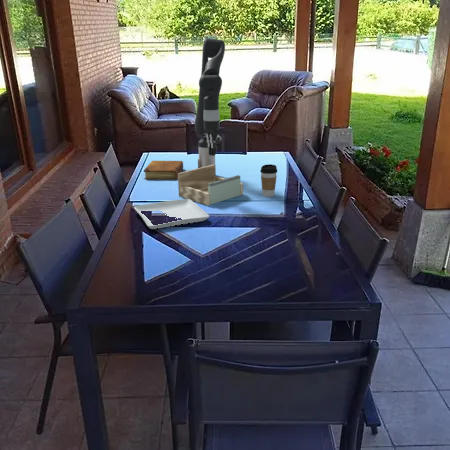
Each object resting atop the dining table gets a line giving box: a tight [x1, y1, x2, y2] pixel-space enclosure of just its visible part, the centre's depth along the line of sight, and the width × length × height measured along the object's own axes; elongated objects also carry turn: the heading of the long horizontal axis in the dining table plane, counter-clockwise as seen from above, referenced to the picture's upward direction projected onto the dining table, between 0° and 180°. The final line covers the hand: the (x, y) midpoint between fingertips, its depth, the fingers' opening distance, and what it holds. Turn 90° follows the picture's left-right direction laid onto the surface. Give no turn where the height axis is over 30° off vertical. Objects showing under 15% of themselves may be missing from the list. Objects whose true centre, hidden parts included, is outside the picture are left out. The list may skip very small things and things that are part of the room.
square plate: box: [133, 198, 210, 230], centre depth 221 cm, size 27×27×4 cm
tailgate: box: [208, 175, 241, 205], centre depth 242 cm, size 2×20×10 cm, turn 134°
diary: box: [143, 160, 184, 180], centre depth 290 cm, size 23×19×6 cm
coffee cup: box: [259, 163, 278, 198], centre depth 247 cm, size 8×8×15 cm
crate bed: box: [177, 164, 244, 206], centre depth 248 cm, size 22×24×12 cm
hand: (212, 155), depth 242 cm, fingers closed
